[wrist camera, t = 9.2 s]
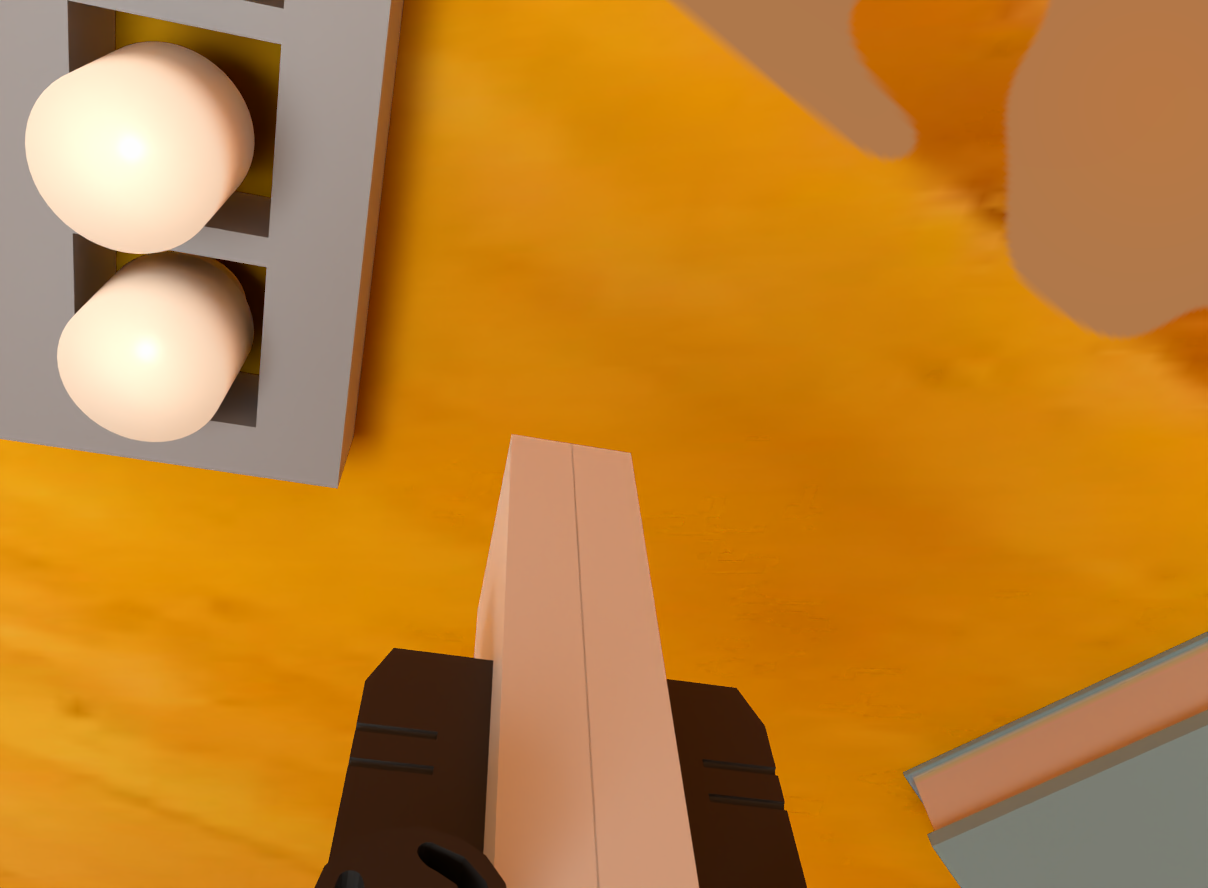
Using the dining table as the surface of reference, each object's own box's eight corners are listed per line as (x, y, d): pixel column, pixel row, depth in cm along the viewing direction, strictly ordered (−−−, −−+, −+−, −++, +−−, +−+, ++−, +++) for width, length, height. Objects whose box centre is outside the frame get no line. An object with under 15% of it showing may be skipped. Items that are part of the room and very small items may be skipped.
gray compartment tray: (33, 386, 41) (-14, 436, 37) (0, -385, 30) (-72, -417, 26) (353, 435, 43) (337, 488, 39) (435, -274, 31) (422, -290, 28)
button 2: (122, 351, 39) (59, 428, 34) (122, 220, 37) (54, 282, 32) (262, 373, 40) (221, 452, 35) (270, 247, 38) (228, 311, 33)
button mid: (105, 177, 35) (28, 235, 29) (104, 15, 32) (20, 47, 27) (264, 206, 35) (216, 268, 30) (273, 49, 33) (224, 87, 28)
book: (1351, 556, 49) (1431, 625, 45) (1421, 767, 56) (1495, 845, 52) (900, 765, 54) (932, 846, 49) (1016, 935, 61) (1053, 1019, 56)
